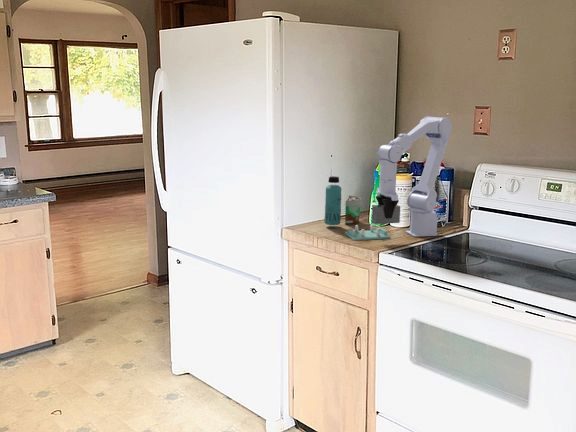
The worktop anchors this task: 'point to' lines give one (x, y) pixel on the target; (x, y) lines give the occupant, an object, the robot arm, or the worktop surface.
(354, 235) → the tray
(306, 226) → the worktop surface
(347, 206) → the food container
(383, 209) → the dark grey block
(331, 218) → the beverage bottle
